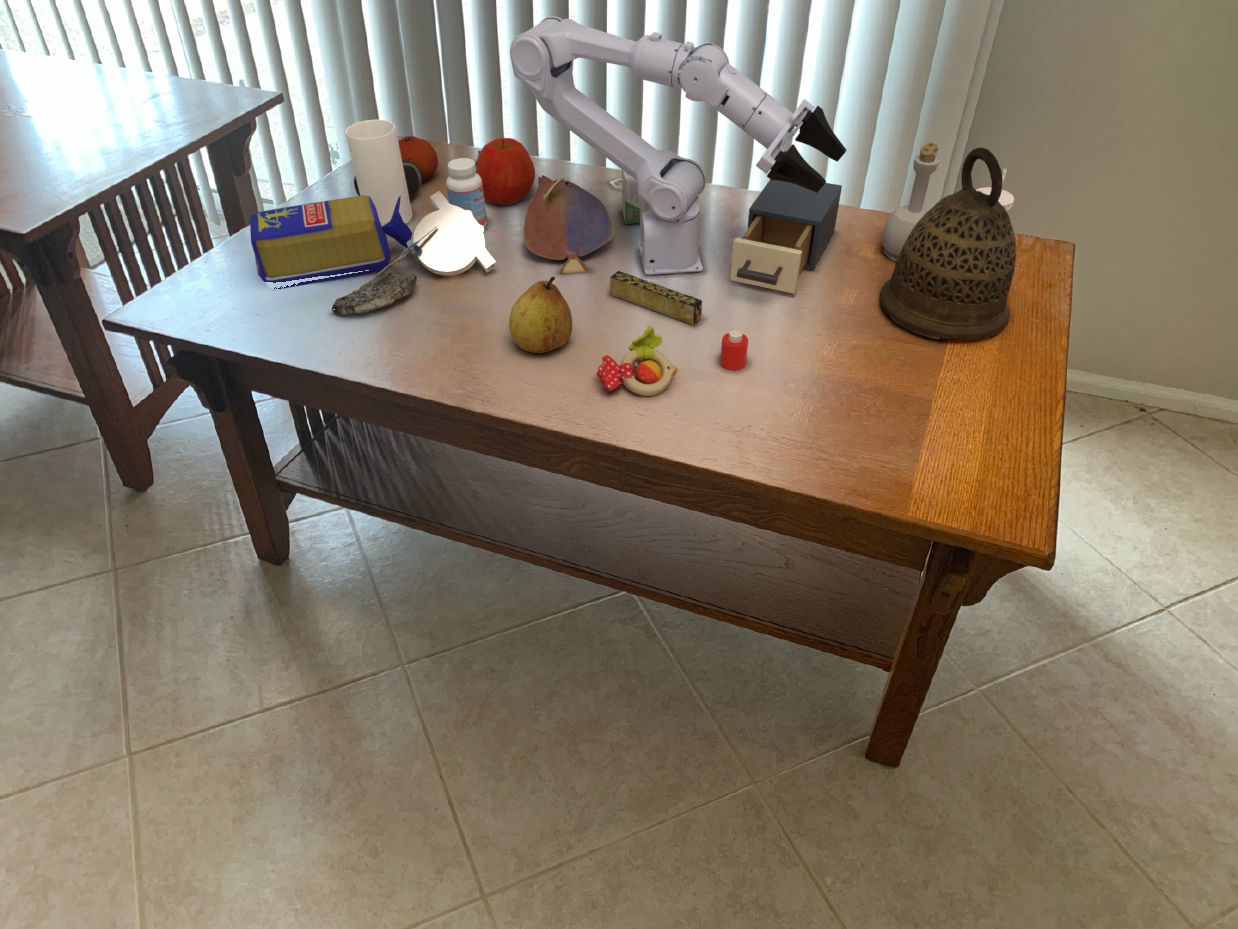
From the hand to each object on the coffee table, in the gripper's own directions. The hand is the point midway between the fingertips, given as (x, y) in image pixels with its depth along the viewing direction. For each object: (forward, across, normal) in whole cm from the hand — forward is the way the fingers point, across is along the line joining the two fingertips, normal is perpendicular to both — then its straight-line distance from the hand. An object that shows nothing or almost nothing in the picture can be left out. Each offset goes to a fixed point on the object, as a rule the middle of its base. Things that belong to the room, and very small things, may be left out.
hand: (832, 171), depth 121 cm
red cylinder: (+4, -27, +14) cm, 30 cm away
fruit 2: (-19, -36, +25) cm, 48 cm away
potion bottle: (+19, +14, +15) cm, 28 cm away
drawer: (+3, -4, +19) cm, 20 cm away
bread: (-56, -34, +50) cm, 82 cm away
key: (-24, +11, +40) cm, 48 cm away
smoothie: (+29, +20, +12) cm, 37 cm away
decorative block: (-9, -20, +23) cm, 32 cm away
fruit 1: (-60, -4, +57) cm, 83 cm away
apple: (-43, -2, +47) cm, 64 cm away
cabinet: (+3, +7, +23) cm, 24 cm away
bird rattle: (-1, -37, +13) cm, 39 cm away
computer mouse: (-62, -11, +52) cm, 82 cm away
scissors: (-46, -32, +38) cm, 67 cm away
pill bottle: (-44, -13, +45) cm, 64 cm away
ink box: (-25, +2, +33) cm, 41 cm away
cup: (-57, -18, +51) cm, 79 cm away
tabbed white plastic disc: (-40, -19, +37) cm, 58 cm away
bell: (+26, 0, +8) cm, 28 cm away
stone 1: (-48, -38, +35) cm, 70 cm away
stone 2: (-54, +4, +49) cm, 73 cm away
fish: (-27, -11, +36) cm, 46 cm away
